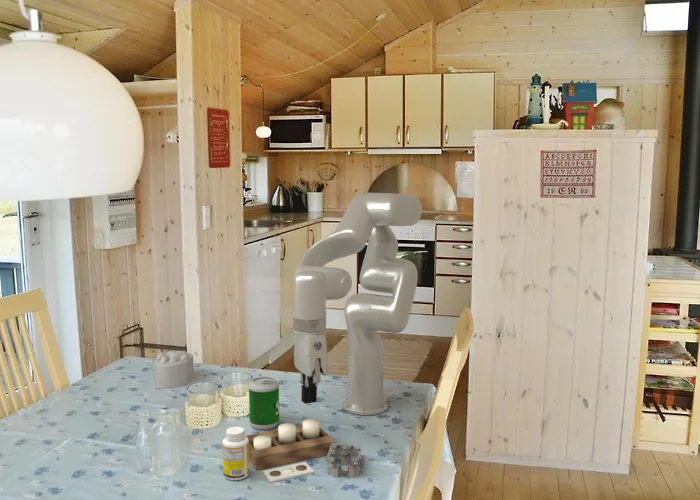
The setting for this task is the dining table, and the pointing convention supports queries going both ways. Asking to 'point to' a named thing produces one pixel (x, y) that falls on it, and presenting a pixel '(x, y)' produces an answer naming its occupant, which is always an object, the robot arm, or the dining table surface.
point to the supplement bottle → (235, 454)
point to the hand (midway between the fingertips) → (309, 401)
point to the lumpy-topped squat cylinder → (174, 369)
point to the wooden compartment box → (288, 449)
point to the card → (288, 472)
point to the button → (311, 429)
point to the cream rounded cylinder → (262, 442)
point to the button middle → (287, 433)
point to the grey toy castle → (344, 460)
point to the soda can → (264, 403)
